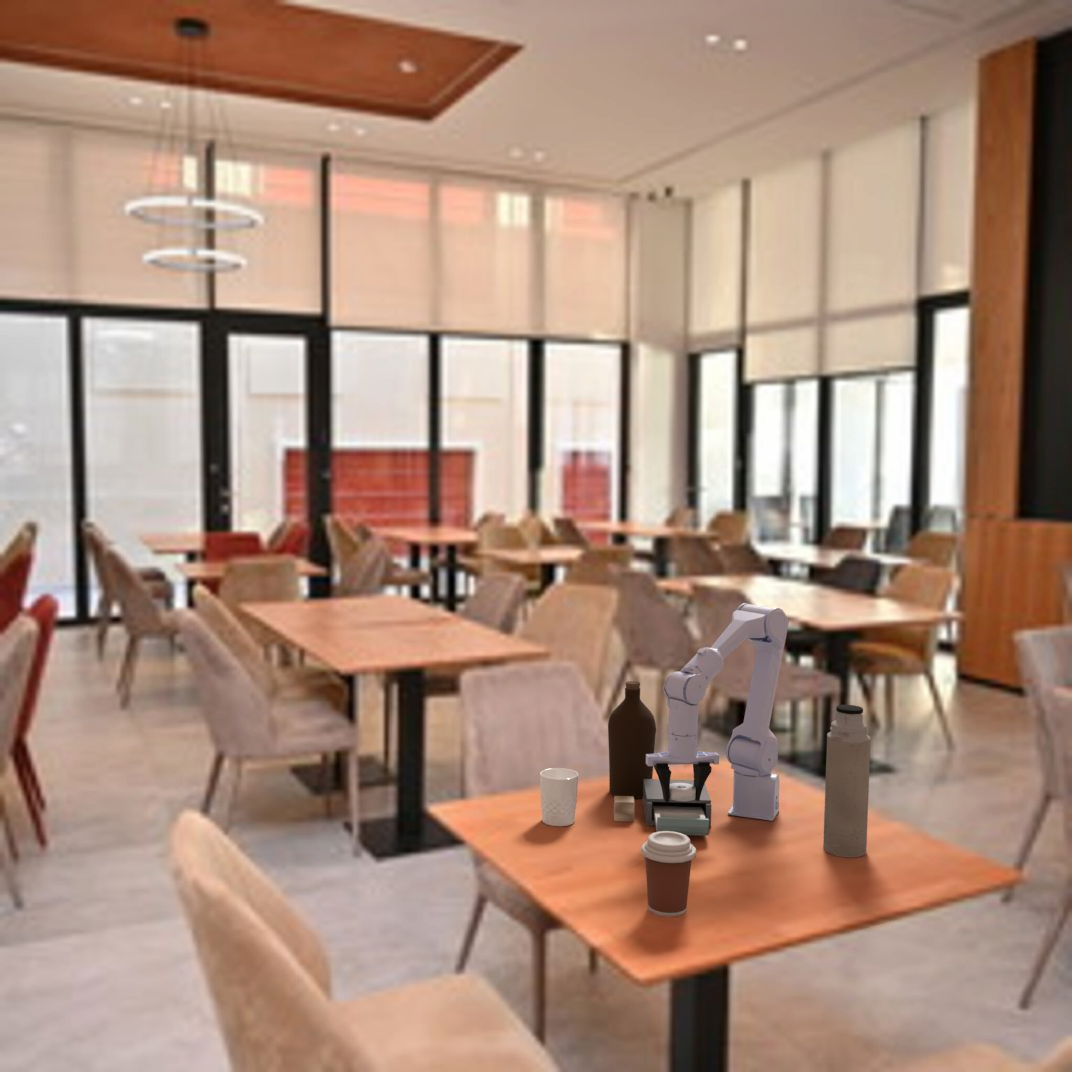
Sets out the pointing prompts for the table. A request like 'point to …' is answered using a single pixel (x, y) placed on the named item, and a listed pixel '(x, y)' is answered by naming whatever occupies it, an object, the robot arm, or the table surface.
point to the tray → (681, 820)
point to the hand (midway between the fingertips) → (681, 799)
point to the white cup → (558, 796)
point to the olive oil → (630, 744)
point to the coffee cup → (668, 872)
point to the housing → (655, 798)
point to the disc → (682, 792)
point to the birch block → (624, 808)
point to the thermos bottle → (847, 784)
